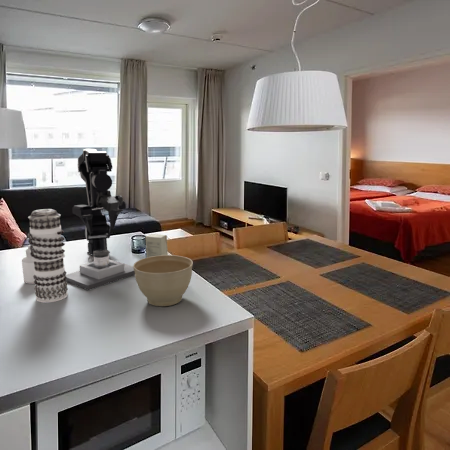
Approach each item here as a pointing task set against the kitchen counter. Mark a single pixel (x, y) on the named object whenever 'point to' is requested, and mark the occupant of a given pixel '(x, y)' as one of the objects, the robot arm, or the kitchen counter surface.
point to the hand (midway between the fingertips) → (101, 230)
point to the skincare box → (156, 245)
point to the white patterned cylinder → (47, 255)
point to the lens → (101, 259)
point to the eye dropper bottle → (28, 267)
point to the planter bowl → (163, 278)
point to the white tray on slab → (99, 275)
